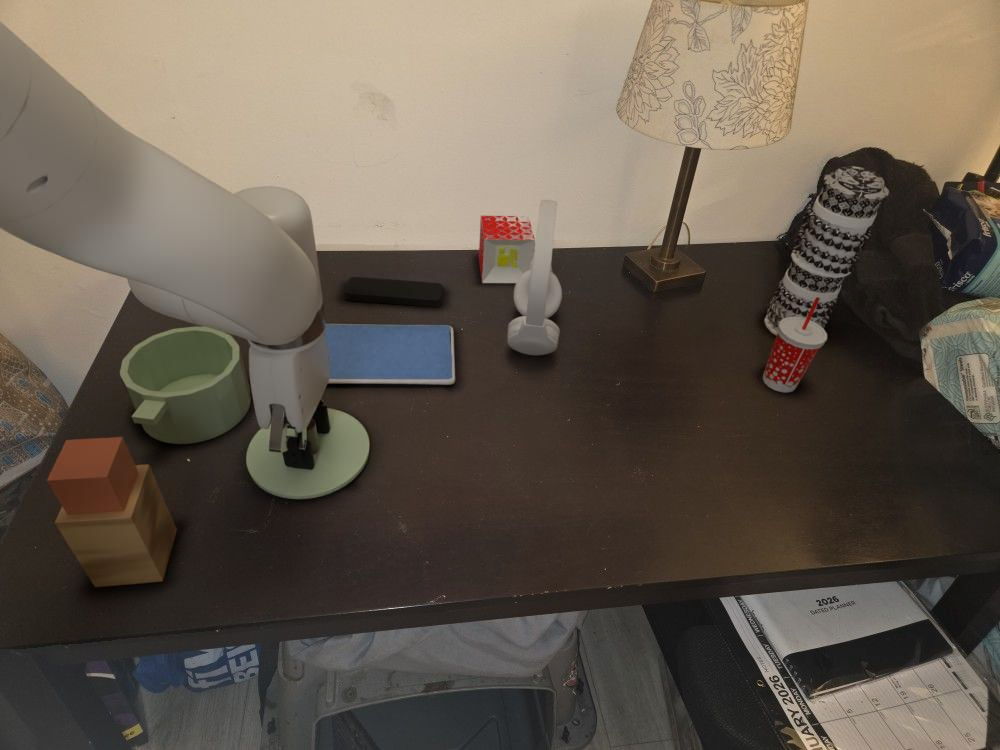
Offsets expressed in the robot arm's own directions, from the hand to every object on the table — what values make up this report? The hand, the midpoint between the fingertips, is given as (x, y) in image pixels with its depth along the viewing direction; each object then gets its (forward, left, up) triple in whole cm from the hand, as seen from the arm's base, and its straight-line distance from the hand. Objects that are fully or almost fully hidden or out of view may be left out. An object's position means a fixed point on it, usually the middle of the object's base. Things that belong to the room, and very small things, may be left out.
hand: (308, 446), depth 74 cm
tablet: (+19, -4, -2) cm, 19 cm away
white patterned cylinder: (+38, -64, -2) cm, 74 cm away
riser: (-16, +12, -1) cm, 20 cm away
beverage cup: (+24, -59, -2) cm, 64 cm away
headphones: (+28, -24, -2) cm, 37 cm away
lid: (0, 0, -1) cm, 1 cm away
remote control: (+34, -2, -2) cm, 34 cm away
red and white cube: (+45, -18, -2) cm, 48 cm away
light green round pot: (+5, +16, -1) cm, 17 cm away
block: (-16, +12, +9) cm, 21 cm away
